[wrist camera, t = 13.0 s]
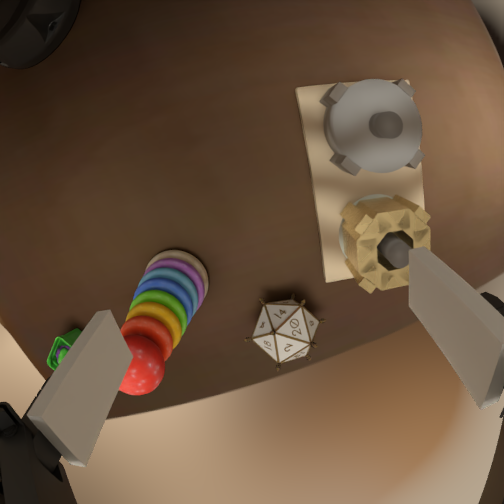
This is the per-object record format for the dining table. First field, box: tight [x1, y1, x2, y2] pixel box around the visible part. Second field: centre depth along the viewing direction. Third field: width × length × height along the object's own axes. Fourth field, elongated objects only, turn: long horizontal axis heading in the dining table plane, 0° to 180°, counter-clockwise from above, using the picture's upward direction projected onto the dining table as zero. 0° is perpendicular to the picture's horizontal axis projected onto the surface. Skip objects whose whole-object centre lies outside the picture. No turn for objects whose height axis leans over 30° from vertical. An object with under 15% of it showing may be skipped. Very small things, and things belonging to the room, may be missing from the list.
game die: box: [244, 293, 326, 371], centre depth 37 cm, size 9×8×10 cm
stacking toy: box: [119, 250, 209, 395], centre depth 30 cm, size 8×8×19 cm
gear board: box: [295, 79, 425, 283], centre depth 30 cm, size 22×13×9 cm, turn 11°
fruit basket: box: [47, 328, 82, 370], centre depth 39 cm, size 11×9×11 cm
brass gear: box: [340, 195, 431, 293], centre depth 32 cm, size 8×8×6 cm
